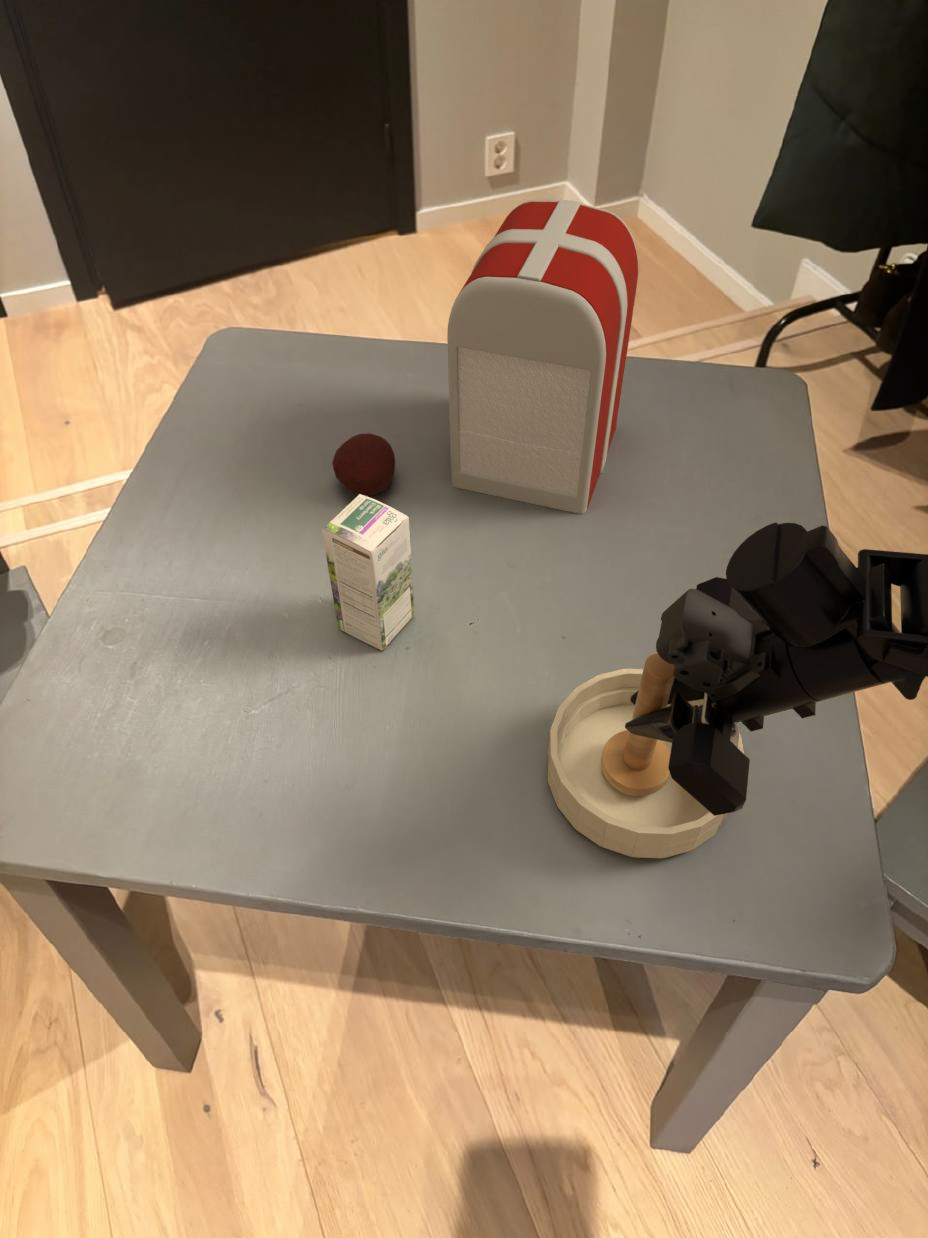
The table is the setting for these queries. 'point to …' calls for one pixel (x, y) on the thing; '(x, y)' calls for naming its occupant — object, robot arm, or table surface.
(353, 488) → the potato
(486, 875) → the table surface
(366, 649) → the table surface
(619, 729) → the bowl
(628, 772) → the tan wooden tall post
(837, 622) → the robot arm
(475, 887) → the table surface
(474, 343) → the red white rounded box
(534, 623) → the table surface
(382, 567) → the syrup box
